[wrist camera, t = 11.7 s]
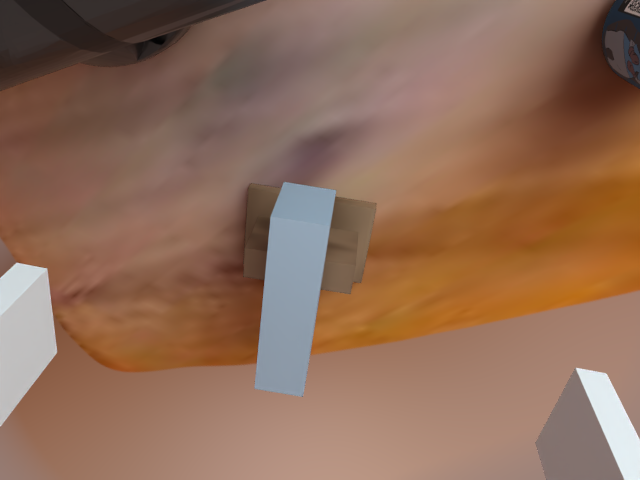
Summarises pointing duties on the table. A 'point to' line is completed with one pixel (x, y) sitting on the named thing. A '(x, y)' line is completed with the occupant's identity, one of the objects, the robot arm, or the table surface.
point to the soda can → (623, 40)
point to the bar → (292, 286)
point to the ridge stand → (343, 243)
